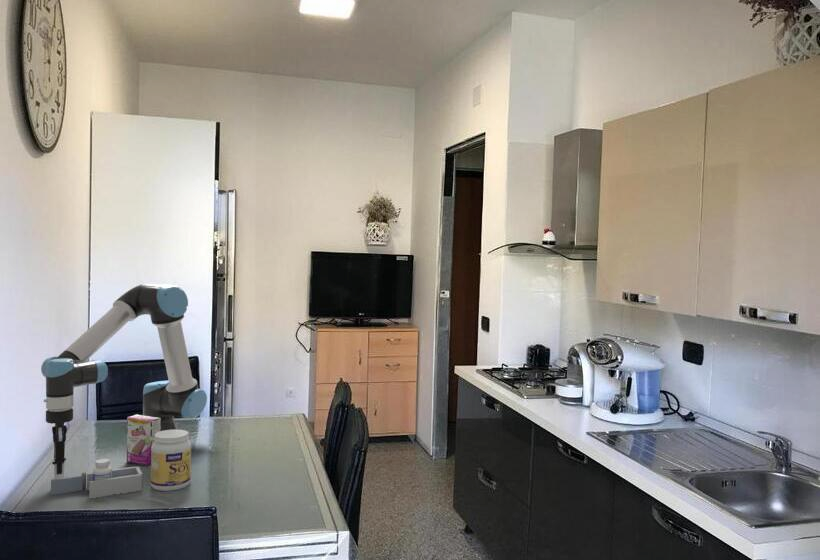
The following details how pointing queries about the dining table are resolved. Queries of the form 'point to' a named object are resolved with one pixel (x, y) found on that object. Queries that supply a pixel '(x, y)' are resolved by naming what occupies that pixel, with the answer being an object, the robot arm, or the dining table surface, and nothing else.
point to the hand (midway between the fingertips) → (58, 482)
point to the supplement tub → (170, 460)
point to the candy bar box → (141, 438)
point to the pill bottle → (102, 470)
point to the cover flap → (68, 484)
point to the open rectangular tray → (116, 482)
